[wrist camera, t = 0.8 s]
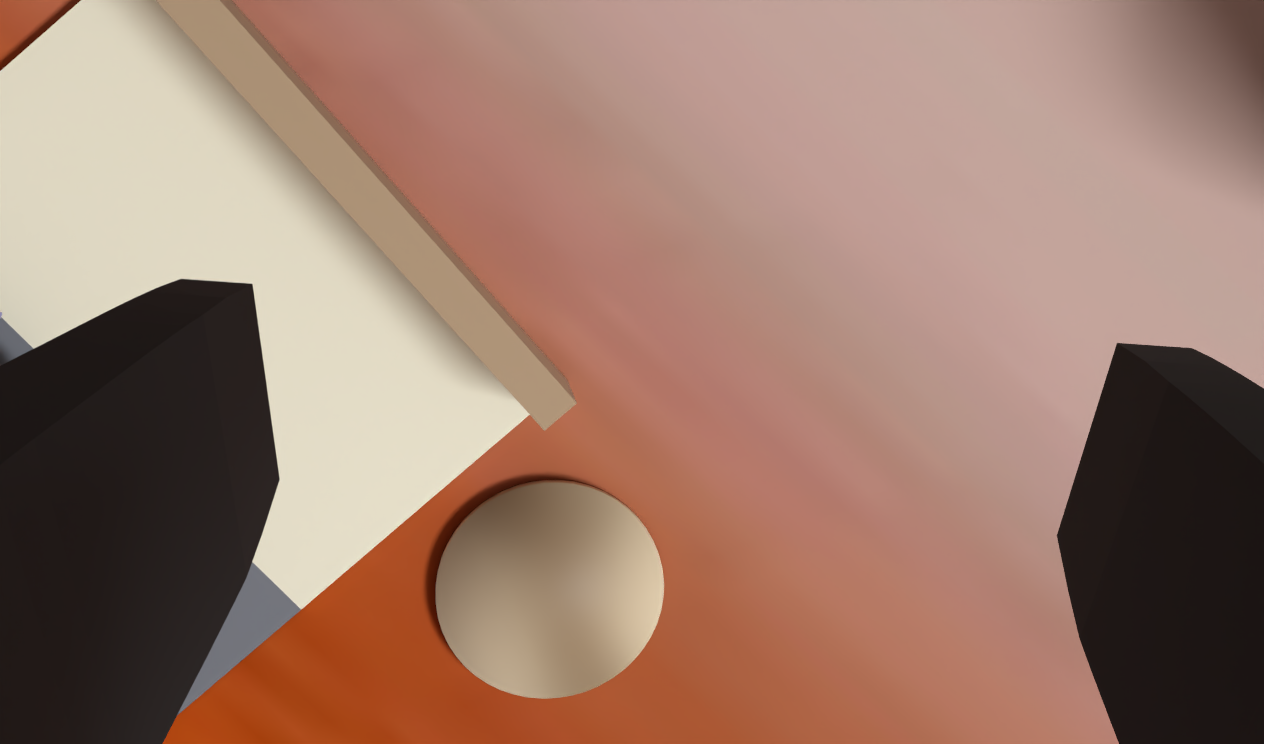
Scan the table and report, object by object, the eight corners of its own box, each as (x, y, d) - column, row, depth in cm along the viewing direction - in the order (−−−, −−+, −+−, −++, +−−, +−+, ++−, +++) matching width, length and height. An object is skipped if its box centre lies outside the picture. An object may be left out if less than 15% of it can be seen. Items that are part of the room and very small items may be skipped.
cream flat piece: (40, 829, 30) (3, 892, 28) (-419, 441, 27) (-510, 473, 25) (567, 379, 30) (576, 403, 27) (168, -73, 27) (136, -94, 24)
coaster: (538, 735, 32) (539, 741, 32) (387, 583, 30) (386, 587, 30) (706, 593, 32) (708, 597, 31) (563, 433, 30) (563, 436, 30)
